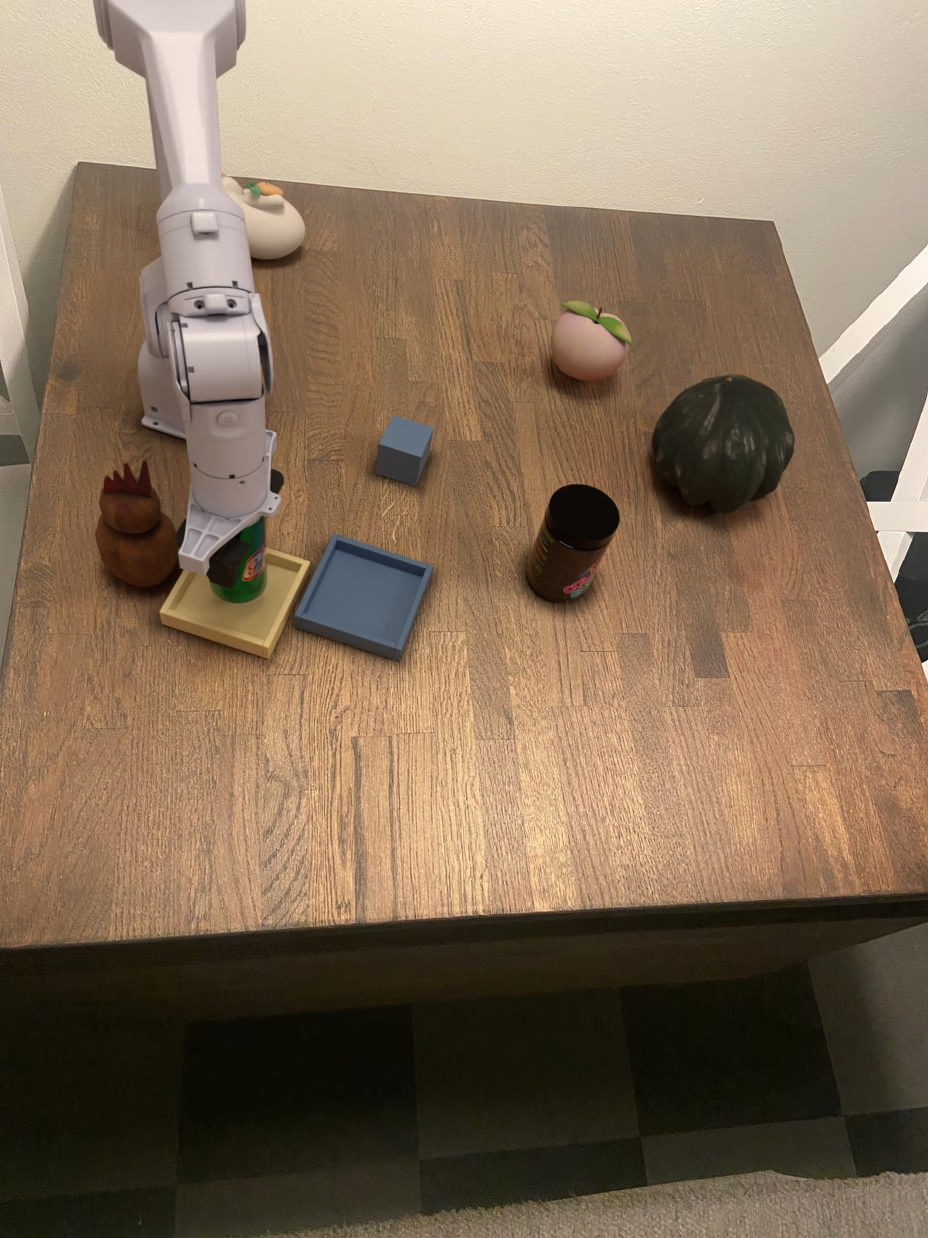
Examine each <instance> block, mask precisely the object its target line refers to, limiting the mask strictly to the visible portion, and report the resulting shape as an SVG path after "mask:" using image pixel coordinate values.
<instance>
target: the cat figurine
mask: <svg viewBox="0 0 928 1238" xmlns="http://www.w3.org/2000/svg"><path fill="white" fill-rule="evenodd" d="M244 184H245V186H246V188H243V187H242V186H241V185H240V184H239V183H238V181H236V180H235V179H234V178H232V177H230V176H227V175H226V173H225V172H224V171H222V188H223V190H224V191H225V192H226V193H227V194H228V195H229V196H230V197H231V198H232V199H233V200H234V201H235V202H236V203H237V204H238V205H239V206H240V207H241V208H242V210H243V212H244V215H245V223H246V229H247V236H248V244H249V251H250V258H251V259H252V258H253V259H256V260H276V259H280V258H284V257H286V256H289V255H290V254H292V253H293V252H295V251H296V250H298V248H299V247H300V246H301V245H302V243H303V241H304V240H305V236H306V224H305V222H304V219H303V217H302V216H301V214H300V212H299V211H298V210H297V209H296V207H294V205H293V204H291V203H290V202H289V201H287V200H286V199H284V197H283V195H284V191H283V190H282V189H281V188H280V187H278V186H276V185H274V184H272V183H269V182H268V181H267V182H266V181H259V182H258V183H257V184H255V183H254V182H253V181H251V182H249V181H246V182H244Z"/></svg>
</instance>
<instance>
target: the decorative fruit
mask: <svg viewBox="0 0 928 1238" xmlns="http://www.w3.org/2000/svg"><path fill="white" fill-rule="evenodd" d="M560 306H561V307H563V308H565V310H564V311H563V312H562V313H561V314H560V315H559V316H558V318H557V319H556V320H555V323H554V325H553V328H552V330H551V335H550V351H551V355H552V359H553V361H554V363H555V364H556V366H557V367H558V368H559V369H560V371H562V372H563V373H564V374H566V375H567V376H569V377H571V378H573V379H576V380H579V381H582V382H590V383H591V382H592V383H593V382H599V381H603V380H604V379H606V378H609V377H610V376H611V375H613V374H614V373H616V371H617V370H618V369H619V368H620V367H621V366H622V365H623V363H624V362H625V360H626V358H627V356H628V352H629V349H630V346H633V340H632V336H631V334H630V332H629V330H628V328H627V326H626V324H625V323H624V322H623V321H622V320H621V319H620V318H619V317H618V316H617V315H615V314H613V313H612V314H611V313H606V312H603V310H604V308H603V306H601V307H599V310H598V309H597V308H596V307H594V306H592V305H591V304H589V303H587V302H585V301H582V300H570V301H569V300H568V301H565V302H562V303H560Z"/></svg>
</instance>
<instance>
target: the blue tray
mask: <svg viewBox="0 0 928 1238" xmlns="http://www.w3.org/2000/svg"><path fill="white" fill-rule="evenodd" d="M433 570H434V565H432V564H428V563H425V562H424V561H423V562H422V561H419V560H416V559H413V558H410V557H407V556H405V555H401V554H398V553H394V552H391V551H389V550H386V549H382V548H380V547H377V546H374V545H370V544H367V543H364V542H361V541H359V540H355V539H352V538H349V537H346V536H342V535H340V534H336V533H333V534H332V535H331V537H330V540H329V541H328V543H327V546H326V548H325V549H324V552H323V554H322V556H321V557H320V560H319V563H318V565H317V566H316V569H315V570H314V573H313V575H312V577H311V579H310V581H309V584H308V586H307V588H306V590H305V592H304V593H303V596H302V598H301V600H300V602H299V605H298V606H297V609H296V611H295V613H294V617H293V624H294V625H293V627H294V628H295V629H299V630H302V631H304V632H305V631H306V632H308V633H311V634H315V635H317V636H320V637H324V638H327V639H329V640H332V641H335V642H338V643H342V644H345V645H348V646H351V647H354V648H358V649H360V650H363V651H366V652H369V653H372V654H376V655H379V656H381V657H384V658H388V659H391V660H394V661H397V662H400V660H401V658H402V655H403V652H404V650H405V647H406V645H407V642H408V639H409V637H410V634H411V632H412V630H413V629H412V628H413V626H414V623H415V621H416V618H417V616H418V613H419V610H420V609H421V605H422V602H423V600H424V598H425V594H426V591H427V589H428V586H429V584H430V582H431V578H432V574H433Z"/></svg>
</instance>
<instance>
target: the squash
mask: <svg viewBox="0 0 928 1238" xmlns="http://www.w3.org/2000/svg"><path fill="white" fill-rule="evenodd" d="M795 438H796V436H795V432H794V430H793V428H792V426H791V423H790V418H789V415H788V411H787V408H786V406H785V404H784V401H783V400H782V397H781V396H780V395H779V394H778V393H777V392H776V391H775V390H774V389H773V388H772V387H770V386H768V385H766V384H765V383H763V382H761V381H758V380H755V379H753V378H752V377H749V376H747V375H743V374H736V373H730V374H724V375H714V376H711V377H707V378H704V379H702V380H701V381H699V382H697V383H695V384H692V385H690V386H688V387H686V388H685V389H684V390H683V391H681V392H680V393H679V394H678V395H677V396H676V397H675V398H674V399H673V400H672V401H671V403H670V404H669V405H668V406H667V407H666V408H665V410H664V411H663V412H662V413H661V415H660V416H659V418H658V420H657V422H656V424H655V427H654V428H653V432H652V436H651V450H652V452H653V454H654V456H655V470H656V472H657V474H658V476H659V477H660V479H661V480H663V481H664V482H665V483H667V484H668V485H670V486H672V487H677V488H678V490H679V493H680V495H681V498H682V499H683V500H684V502H686V503H687V505H689V506H694V507H695V506H700V505H704V504H705V503H706V502H708V504H709V506H710V507H711V508H712V510H715V511H716V512H718V513H720V514H731V513H734V512H736V511H738V510H740V509H741V508H743V507H744V506H745V505H746V504H747V503H749V502H758V501H760V500H762V499H764V498H765V497H766V496H767V495H769V494H771V493H774V492H775V491H776V490H777V488H778V486H779V484H780V482H781V479H782V476H783V473H784V472H785V471H786V470H787V468H788V466H789V464H790V462H791V460H792V458H793V456H794V452H795V440H796V439H795Z"/></svg>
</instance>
